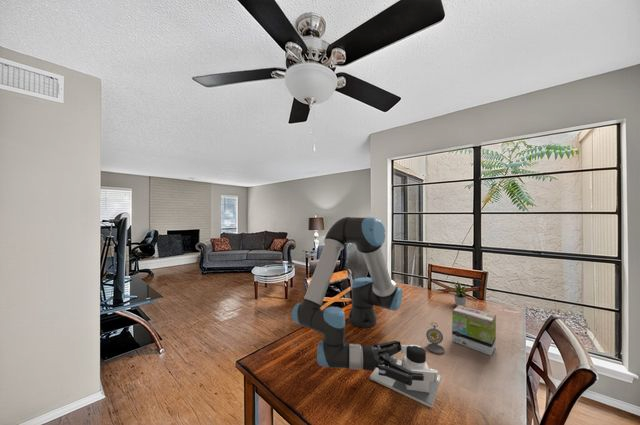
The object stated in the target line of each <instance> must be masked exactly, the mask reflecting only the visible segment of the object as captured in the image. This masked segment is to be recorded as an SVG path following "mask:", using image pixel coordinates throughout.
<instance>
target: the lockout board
mask: <svg viewBox="0 0 640 425" xmlns="http://www.w3.org/2000/svg"><path fill="white" fill-rule="evenodd" d="M390 359H391V360H392V361H393V362H394V363H396V364H398V365H400V366H402V367H403V359H402V360H401V359H398V356H396V354H394V355H392V356H390ZM388 367H389V366H388ZM429 370H430V371H434V382H432V381H430V393H427V392H420V391H412V390H407V388H406V384H404V383H402V382H399V381H397V380H394V379H392V378H389V377H386V376H381V375H379V368H376V367H375V368H374V370H373V371H372V373H371V374H370V375H369V380H372V381H374V382H375V383H377V384H380V385H382V386H384V387H385V388H389V389H391V390H393V391H395V392H397V393H399V394H401V395H403V396H405V397H408V398H410V399H412V400H414V401H416V402H418V403H420V404H422V405H424V406H426V407H428V408H431V409H432V408H433V405H434V402H435V399H436V396H437V392H438V389H439V385H440V383H441V379H442V375H440V374H439V370H437V369H434V368H429Z"/></svg>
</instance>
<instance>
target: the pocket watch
mask: <svg viewBox="0 0 640 425" xmlns="http://www.w3.org/2000/svg"><path fill="white" fill-rule="evenodd" d="M433 324H434V325H433ZM435 324H436V325H435ZM431 326H432V328H429V329H428V330H427V331H426V334H425V335H426V339H427V340H428V342H429V343H428V344H427V346H426V347H427V349H428V350H429V352H431V353H433V354H438V355H441V354H444V353H445V348H444V347H443V346H442V345H440V344H441V343H442V342H443V341H444V340H443V339H444V336H443V333H442V332H441V330H440V329H437V327H438V326H439V325H438V324H437V323H436V322H432V323H431Z"/></svg>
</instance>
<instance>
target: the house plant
mask: <svg viewBox="0 0 640 425" xmlns="http://www.w3.org/2000/svg"><path fill="white" fill-rule="evenodd" d="M451 281H452V282H453V283H452V282H448V284H452V286H453V288H452V289H451V288H450V292H455V294H453V298H454V303H455V306H456V307H457V306H458V305H461V306H465V307H466V303H467V296H466V295H467V293H470V291H468V290H465V289H468V288H469V287H471V286H473V285H471V284H470V285H468V284H467V283H466V284H465V285H463V286H462V283H461V282H459V281H458V280H457V281H454V279H451ZM467 285H468V286H467ZM461 286H462V287H461Z"/></svg>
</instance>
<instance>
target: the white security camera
mask: <svg viewBox="0 0 640 425" xmlns="http://www.w3.org/2000/svg"><path fill="white" fill-rule="evenodd" d="M408 345H409V346H407V348H406V354H405V355H403V356H402V360H403V367H404V368H406V369H407V370H409V371H411V369H415V370H427V371H430V368H429V365H428V363H427V357H426V355H427V351H426V350H425V349H424V347H422V346H420V345H417V344H408ZM406 388H407V390H412V391H420V392H427V393H430V381H417V380H413V381H412V385H411V386H409V385H407V384H406Z"/></svg>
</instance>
